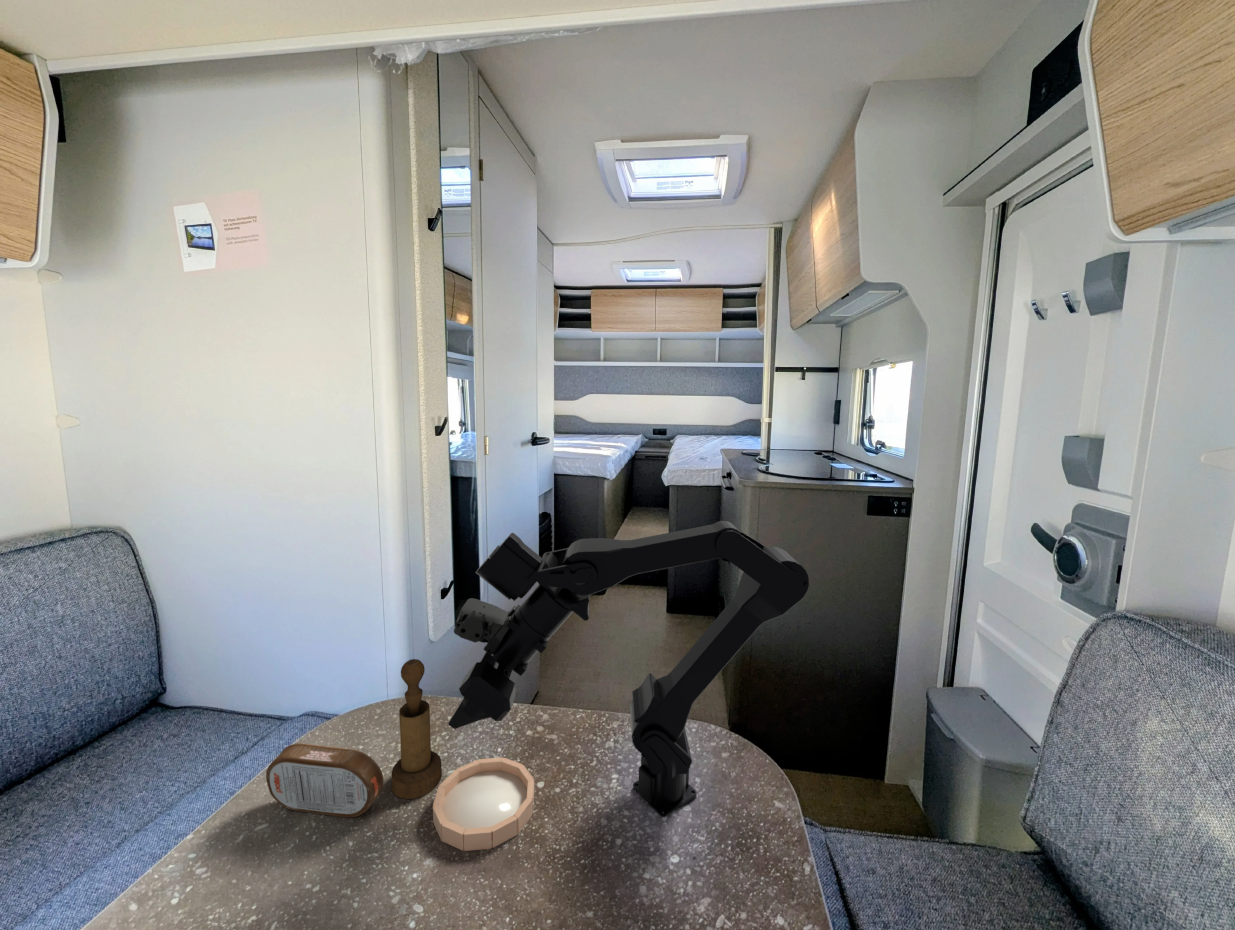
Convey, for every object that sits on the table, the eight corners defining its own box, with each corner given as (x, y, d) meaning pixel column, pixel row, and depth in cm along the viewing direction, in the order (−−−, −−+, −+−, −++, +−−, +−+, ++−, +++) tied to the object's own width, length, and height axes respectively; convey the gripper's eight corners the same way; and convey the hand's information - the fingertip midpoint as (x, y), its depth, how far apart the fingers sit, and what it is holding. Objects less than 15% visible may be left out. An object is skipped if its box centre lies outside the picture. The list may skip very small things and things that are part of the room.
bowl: (509, 759, 75) (509, 746, 75) (550, 816, 65) (550, 801, 65) (422, 798, 68) (422, 784, 67) (454, 869, 58) (453, 852, 57)
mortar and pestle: (424, 803, 67) (419, 677, 64) (381, 795, 68) (374, 671, 66) (450, 767, 73) (446, 652, 71) (410, 760, 75) (405, 647, 72)
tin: (386, 805, 66) (383, 748, 65) (372, 826, 63) (368, 765, 62) (282, 793, 68) (277, 737, 67) (264, 812, 65) (258, 753, 64)
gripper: (504, 558, 74) (438, 633, 76) (468, 612, 56) (382, 711, 57) (561, 605, 75) (495, 678, 77) (545, 673, 57) (459, 768, 58)
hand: (462, 703), depth 67 cm, fingers open, 9 cm apart
